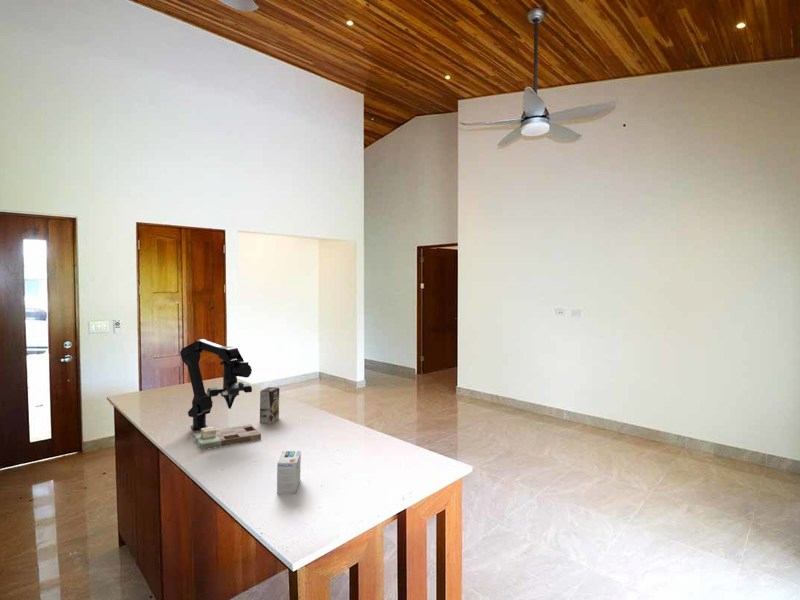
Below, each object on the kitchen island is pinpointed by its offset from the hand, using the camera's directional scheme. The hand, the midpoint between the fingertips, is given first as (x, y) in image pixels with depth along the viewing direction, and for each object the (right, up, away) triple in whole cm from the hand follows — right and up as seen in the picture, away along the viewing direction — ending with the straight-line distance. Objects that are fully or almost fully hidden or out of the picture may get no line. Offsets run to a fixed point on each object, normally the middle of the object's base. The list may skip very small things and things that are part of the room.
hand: (229, 408), depth 206 cm
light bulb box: (+40, -16, -49) cm, 65 cm away
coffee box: (+12, -12, +22) cm, 27 cm away
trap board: (+1, -12, -6) cm, 14 cm away
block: (-6, -10, -9) cm, 14 cm away
